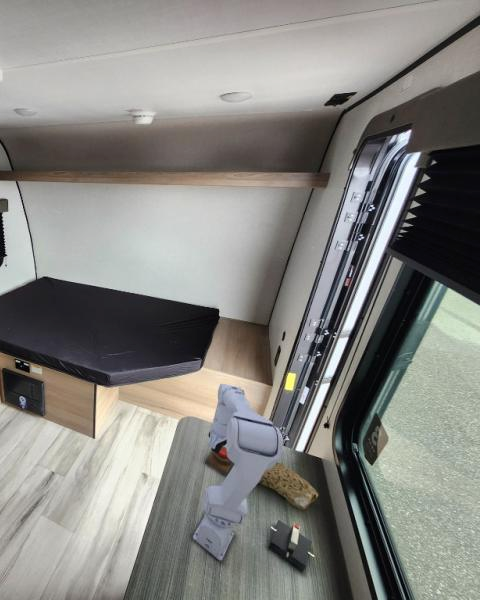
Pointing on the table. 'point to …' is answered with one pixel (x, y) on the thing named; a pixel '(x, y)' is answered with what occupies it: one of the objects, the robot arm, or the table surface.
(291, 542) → the tap handle
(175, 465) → the table surface
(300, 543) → the panel
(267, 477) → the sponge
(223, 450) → the pump button
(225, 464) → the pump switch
